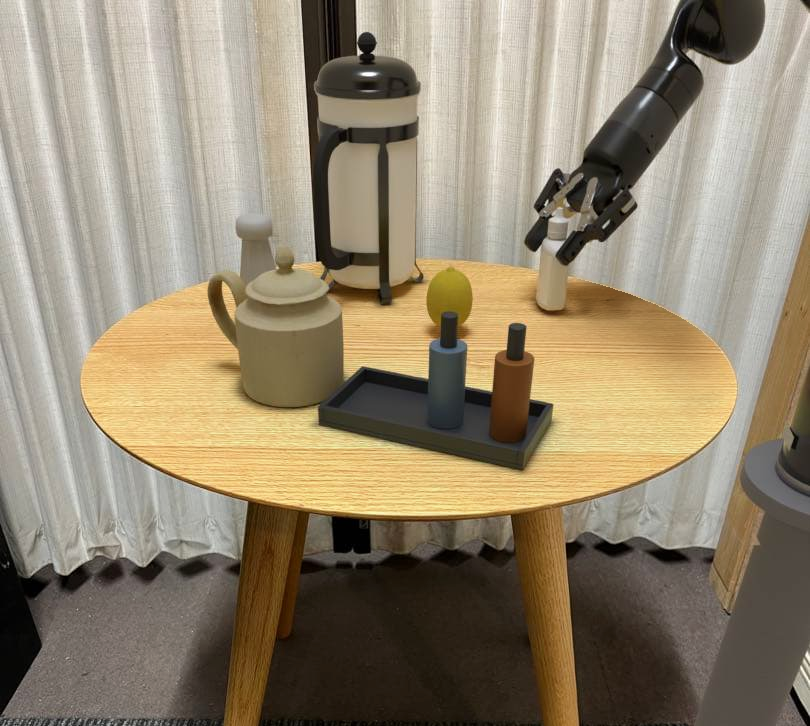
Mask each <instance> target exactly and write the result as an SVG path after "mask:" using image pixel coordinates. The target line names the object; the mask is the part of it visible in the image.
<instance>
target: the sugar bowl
mask: <svg viewBox="0 0 810 726" xmlns="http://www.w3.org/2000/svg"><path fill="white" fill-rule="evenodd" d="M274 263H275V265H277V267H278V268H276V269H275V270H271V271H267V272H265V273H263V274H261V275H260V276H258V277H257V278H256V279H255V280H253V281H251V282H250V283H249V284H248V285H247V286H246V285H245V284H244V282H243V280H242V279H241V278H240V274H238V273H237V272H235V271H232V270H228V269H222V270H219V271H216V273H214V274H213V275H212V276H211V278H210V279H209V281H208V284H207V299H208V304H209V307H210V310H211V313H212V316H213V319H214V320H215V323H216V324H217V326H218V328H219V329H220V331H221V332H222V334H223V335H224V336H225V337H226V338H227V340H228V341H229V342H230V343H231V345H232V346H234V347H235V348H236V349H237V354H238V360H239V366H240V374H241V381H242V382H241V383H242V387H243V391H244V392H245V394H246V395H247V396H248V397H249V398H250V399H252V400H254V401H255V402H257V403H260V404H263V405H266V406H271V407H276V408H277V407H278V408H299V407H308V406H309V407H310V406H315V405H316V404H321V403H322V402H324V401H325V400H326V399H327V398H328V397H329V396H330V395H331V394H332V393H333V392H334V391H336V390H337V389H338V388H339V387H340V386H341V385H342V384H343V383H344V382H345V381H344V379H345V376H344V375H345V374H344V372H345V370H344V369H345V368H344V367H345V365H344V364H345V361H344V359H345V358H344V348H345V347H344V325H343V324H344V323H343V310H342V307H341V305H340V303H339V302H338V301H337V300H335V299H334V298H332V297H330V296H327V293H328V292H327V291H328V290H329V286H328V284H329V283H327V282H326V281H325V280H324V281H323V280H321V279H320V277H317V275H316V274H314V273H313V272H311V271H308V270H306V269H301V268H293V267H294V263H295V255H294V253H293V251H292V249H290V247H289V246H288V245H287V244H282V245H279V247H278V249H277V251H276V252H275V257H274ZM223 283H224V284H226V286H227V287H228V288H229V291H230V292H231V294H232V295H231V296H232V297H233V300H234V303H235V310H234V320H233V318H231V316H230V314H229V312H228V309H227V305H226V302H225V300H224V294H223ZM326 292H327V293H326Z"/></svg>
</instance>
